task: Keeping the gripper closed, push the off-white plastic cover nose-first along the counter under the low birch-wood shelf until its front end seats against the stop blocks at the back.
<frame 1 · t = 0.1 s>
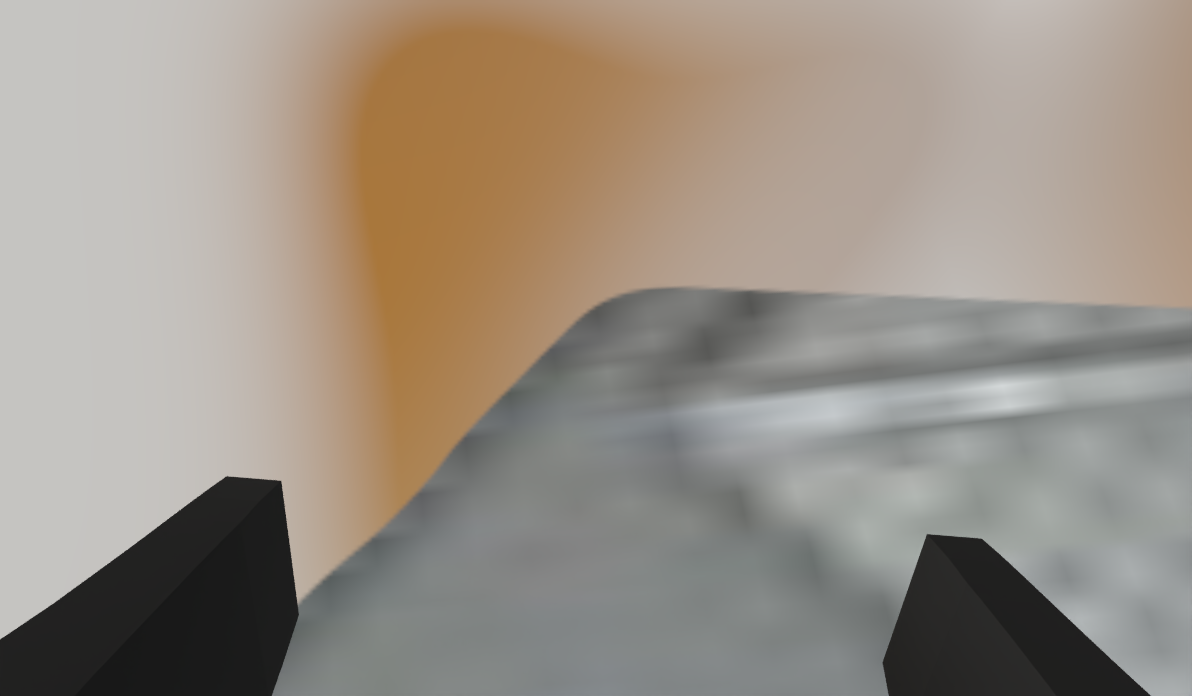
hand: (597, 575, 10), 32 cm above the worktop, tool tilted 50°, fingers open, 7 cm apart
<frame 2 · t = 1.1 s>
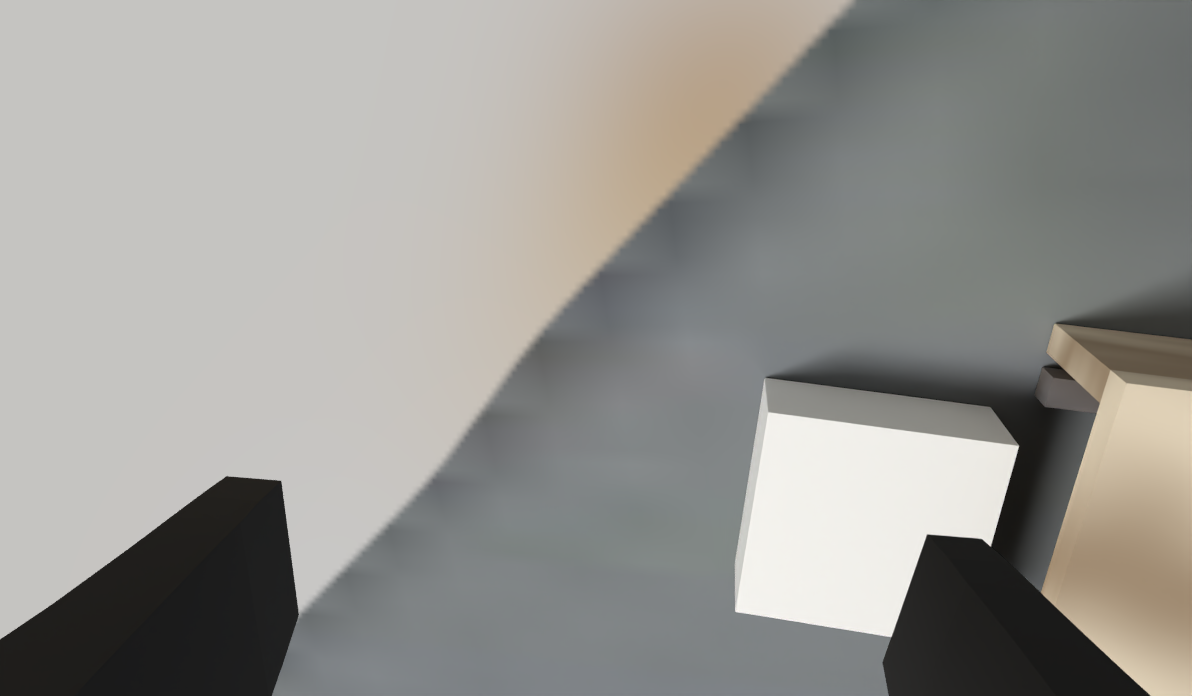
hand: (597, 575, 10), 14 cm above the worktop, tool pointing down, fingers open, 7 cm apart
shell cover: (855, 489, 24), on the worktop
overhang shelf: (1096, 523, 23), on the worktop
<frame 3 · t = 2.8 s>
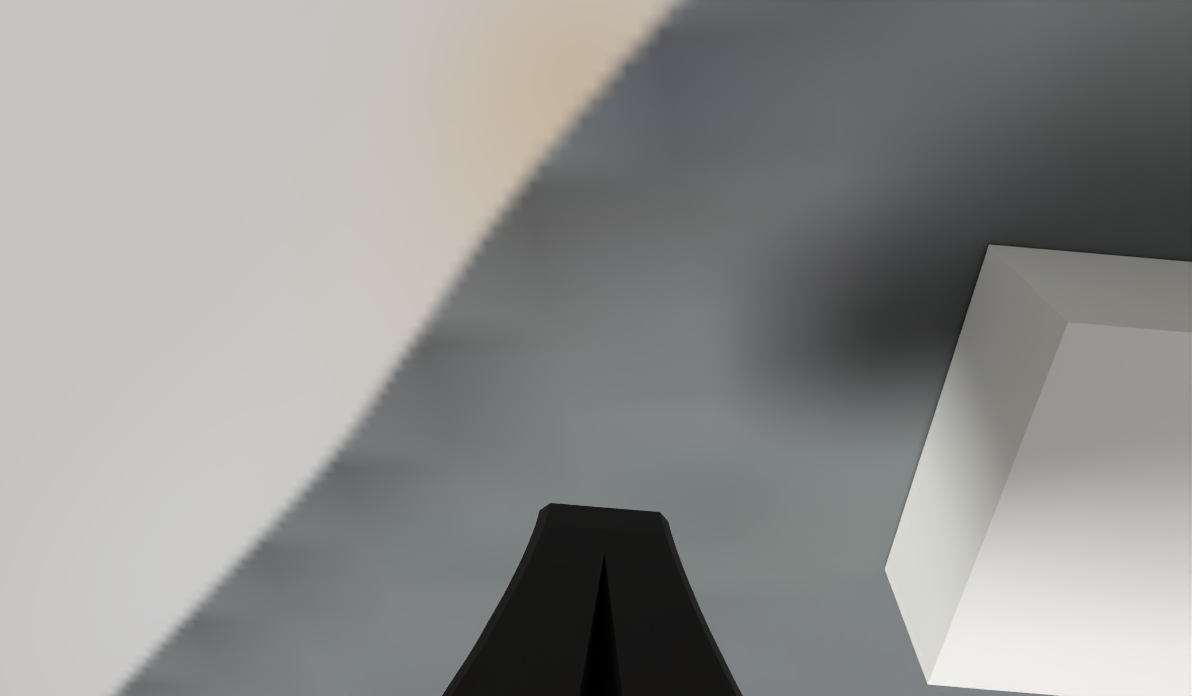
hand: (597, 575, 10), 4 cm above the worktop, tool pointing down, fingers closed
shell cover: (1122, 441, 13), on the worktop
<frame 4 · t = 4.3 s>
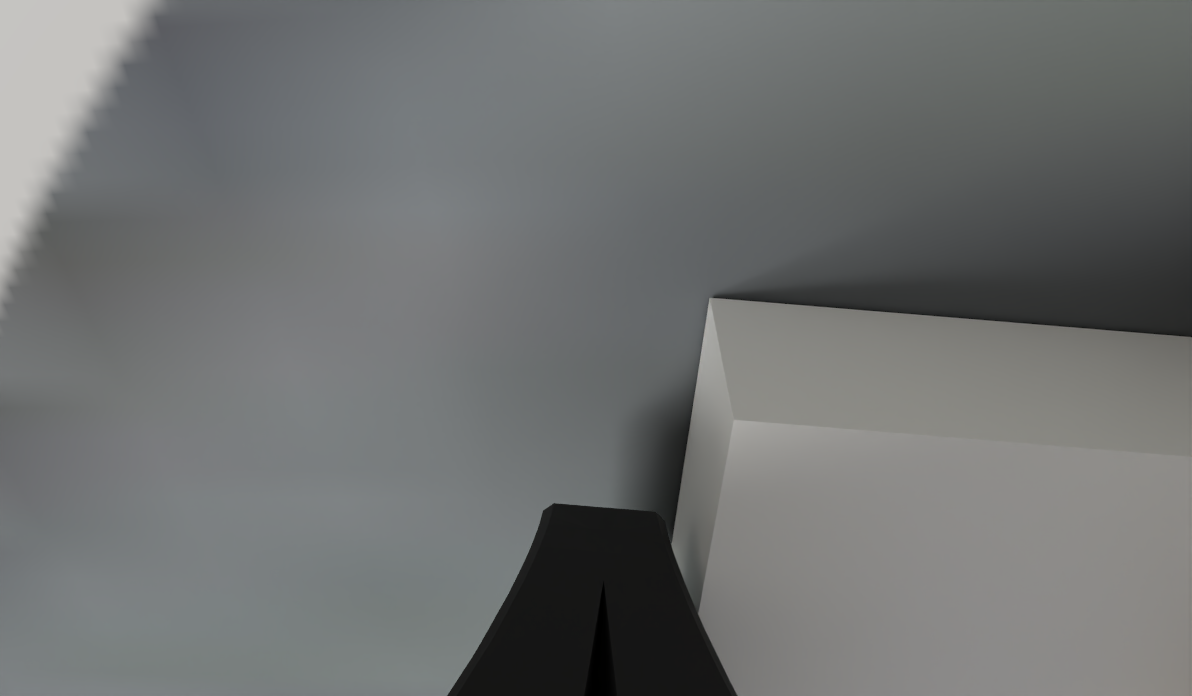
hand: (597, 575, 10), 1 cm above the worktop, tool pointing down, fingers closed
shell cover: (912, 531, 11), on the worktop, touching gripper
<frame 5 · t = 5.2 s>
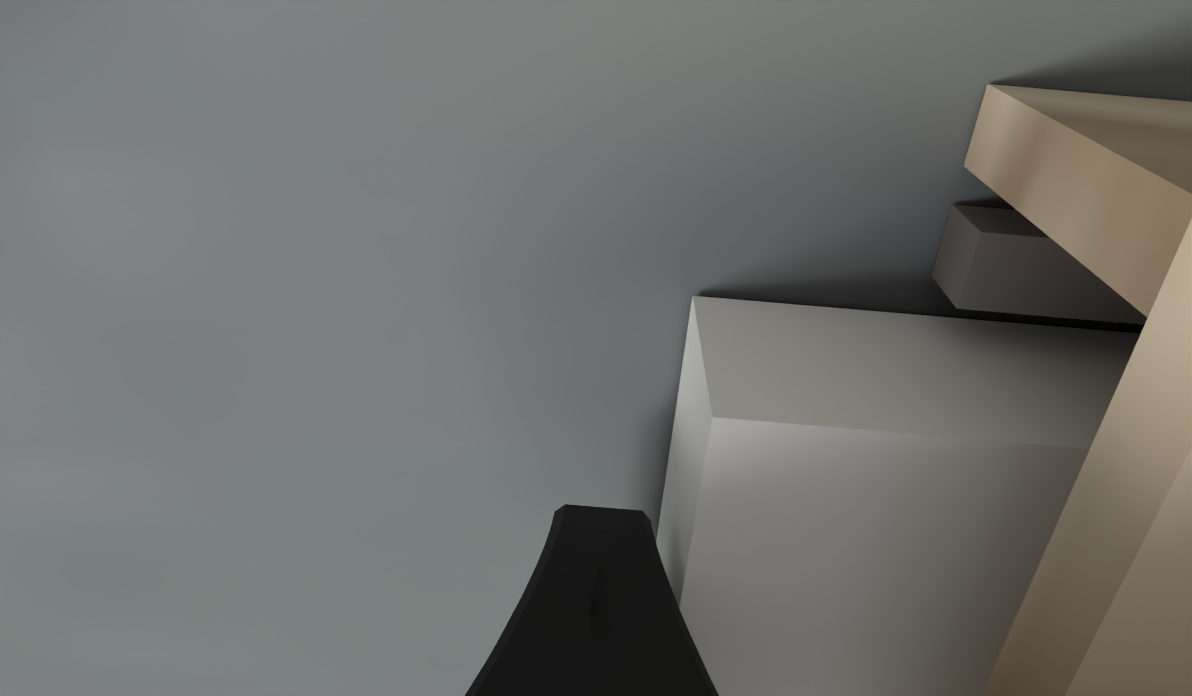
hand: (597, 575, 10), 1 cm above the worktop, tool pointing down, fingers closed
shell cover: (897, 530, 11), on the worktop, touching gripper, overhang shelf
overhang shelf: (1052, 544, 11), on the worktop
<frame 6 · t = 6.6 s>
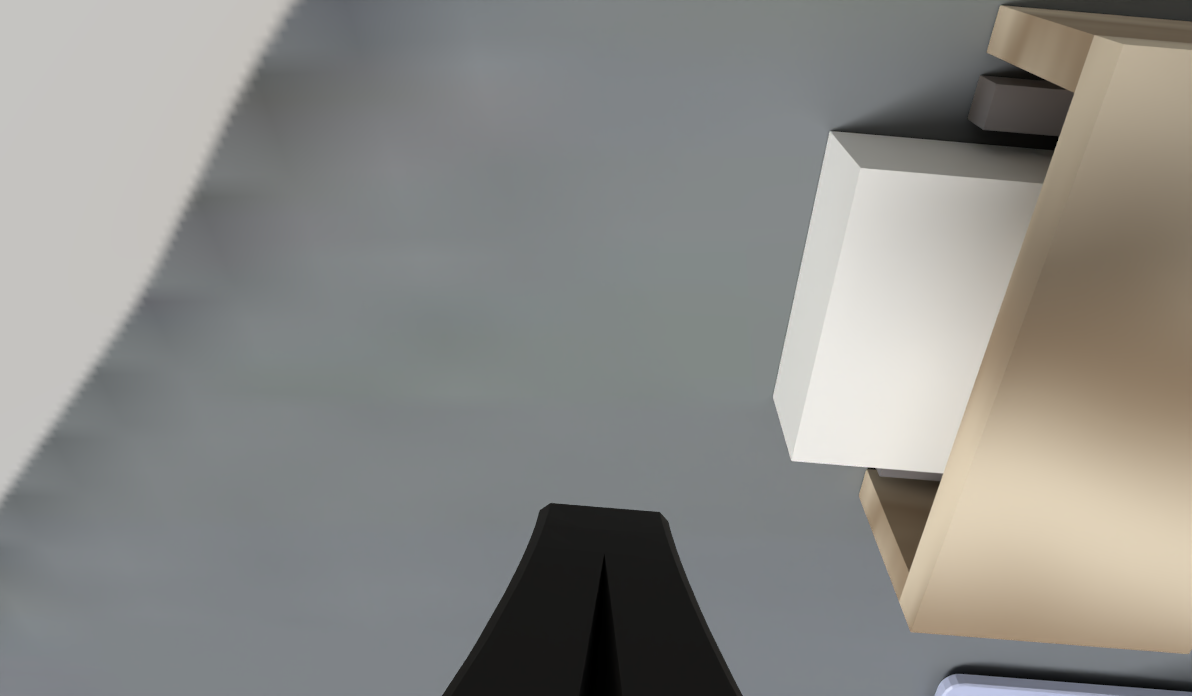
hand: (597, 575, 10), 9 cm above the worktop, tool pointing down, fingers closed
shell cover: (942, 287, 17), on the worktop
overhang shelf: (1037, 297, 17), on the worktop
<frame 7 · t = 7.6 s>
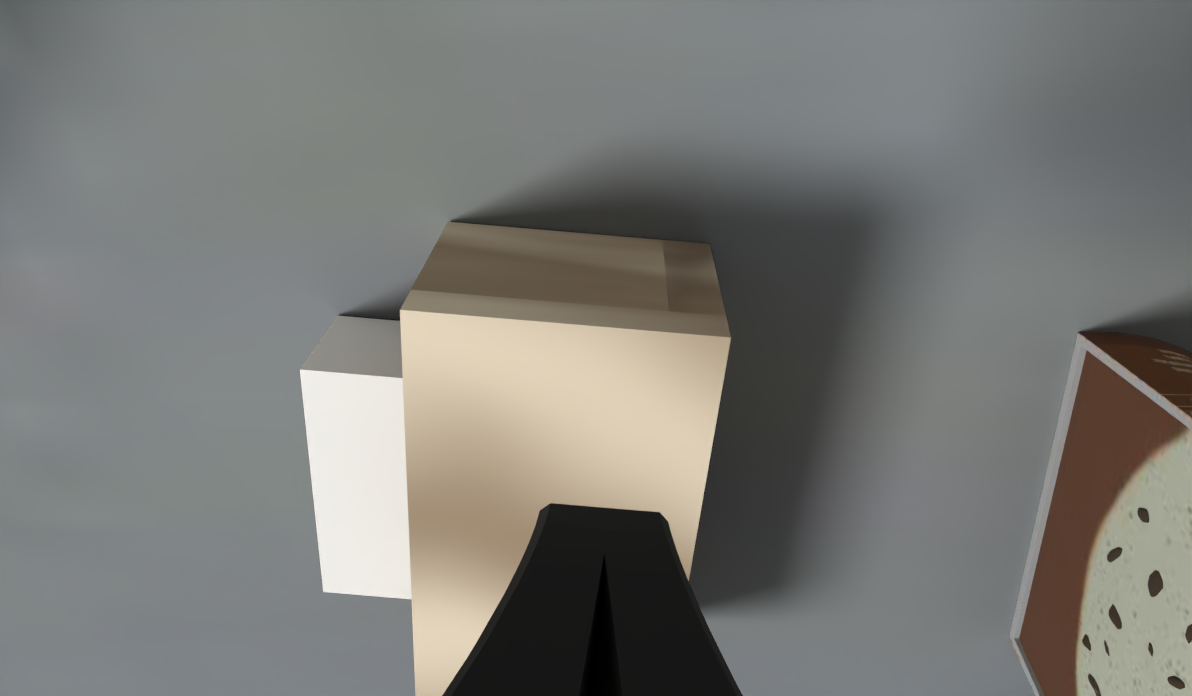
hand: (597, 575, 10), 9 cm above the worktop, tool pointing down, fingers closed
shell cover: (470, 437, 20), on the worktop
food container: (1165, 491, 20), on the worktop
overhang shelf: (553, 446, 20), on the worktop
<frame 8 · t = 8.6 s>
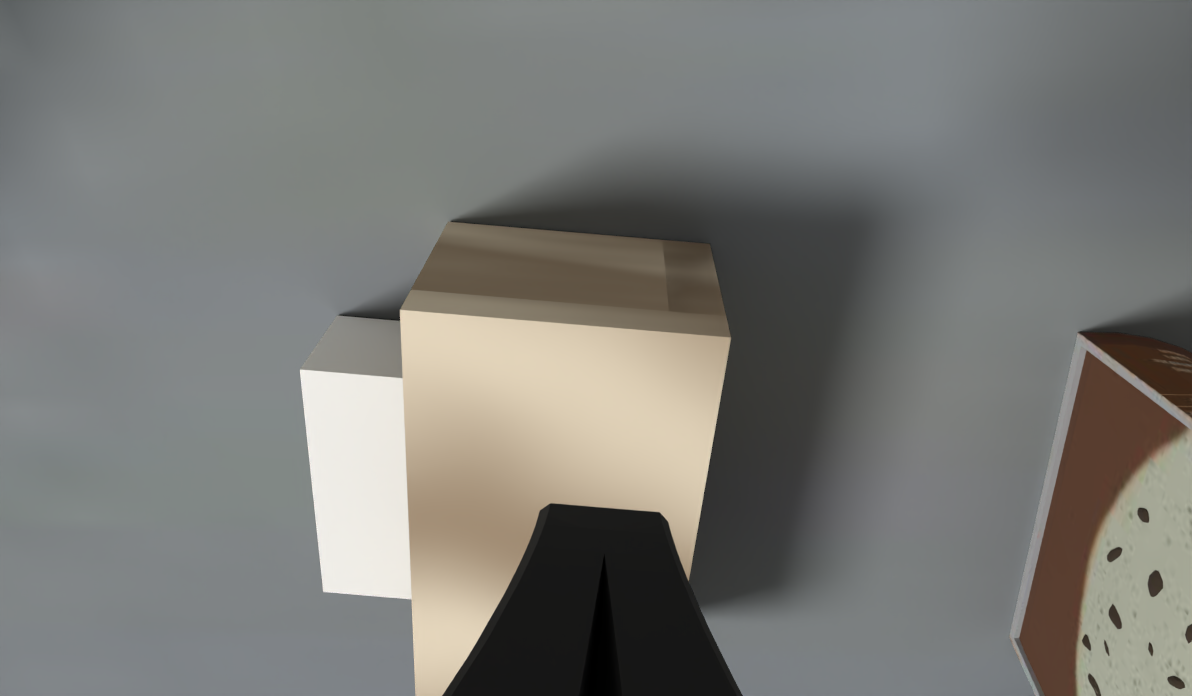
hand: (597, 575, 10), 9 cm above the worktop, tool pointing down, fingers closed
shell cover: (470, 437, 20), on the worktop
food container: (1165, 491, 20), on the worktop
overhang shelf: (553, 446, 20), on the worktop
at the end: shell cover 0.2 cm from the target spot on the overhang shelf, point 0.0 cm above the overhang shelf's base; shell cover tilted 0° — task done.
